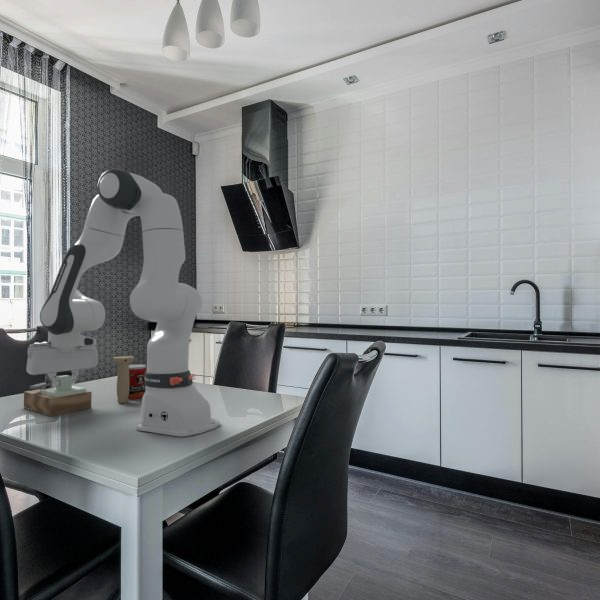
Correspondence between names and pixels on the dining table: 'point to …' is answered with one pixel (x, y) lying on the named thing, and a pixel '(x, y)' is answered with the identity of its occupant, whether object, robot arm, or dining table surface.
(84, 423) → the dining table surface
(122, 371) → the handle
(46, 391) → the lid
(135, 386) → the canned food
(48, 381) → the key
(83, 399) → the case
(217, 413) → the dining table surface
